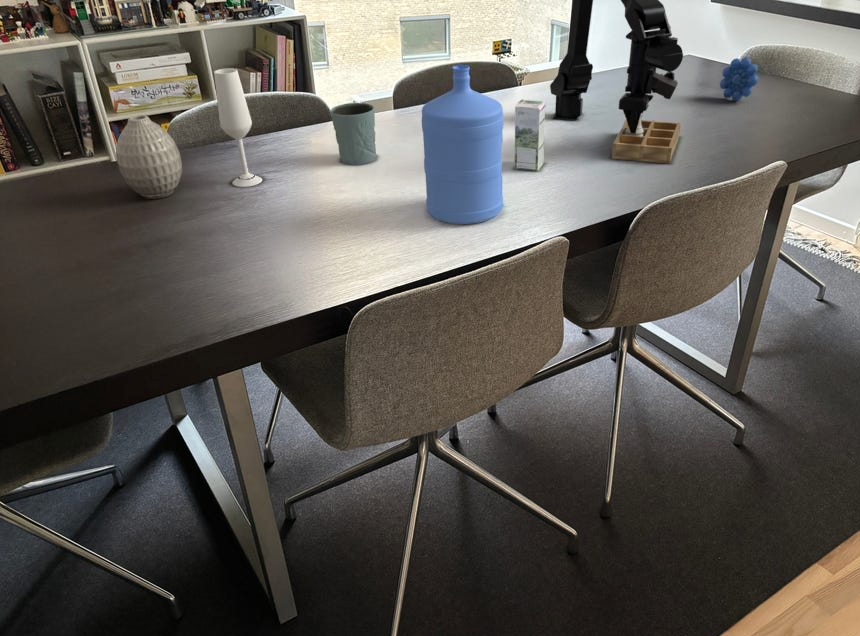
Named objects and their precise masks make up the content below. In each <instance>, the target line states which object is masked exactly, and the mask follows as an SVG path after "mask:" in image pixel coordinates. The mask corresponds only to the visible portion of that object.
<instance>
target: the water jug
mask: <svg viewBox="0 0 860 636" xmlns="http://www.w3.org/2000/svg"><path fill="white" fill-rule="evenodd" d="M451 68H452V72H453V75H452V84H453V87H452V89H451V90H449V91H447V92H446V93H444V94H441V95H440V96H437V97H435V98H433V99H431V100H429V101H428V102H426V103H425V104H424V105H422V109H421V130H422V138H423V139H422V140H423V155H424V156H423V157H424V158H423V168H424V169H423V170H424V174H425V191H426V193H425V194H426V199H425V202H426V211H427V212H428V214H429V215H430V216H431V217H433V218H434V219H436V220H438V221H439V222H442V223H443V222H444V223H448V224H452V225H453V224H454V225H471V224H479V223H482V222H483V223H484V222H486V221H489V220H491V219H494V218H496V217H498V215H500V214H501V212H502V210H503V207H504V196H503V174H502V172H503V171H502V170H503V169H502V168H503V167H502V147H503V137H504V135H503V134H504V133H503V131H504V112H503V111H504V110H503V105H502V104H501V102H499V101H498V100H496V99H494V98H492V97H490V96H488V95H485V94H483V93H480V92H478V91H475V90H473V89H472V88H471V85H470V82H471V81H470V80H471V75H470V69H471V67H470V65H467V64H456V65H453V66H452V67H451Z"/></svg>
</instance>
